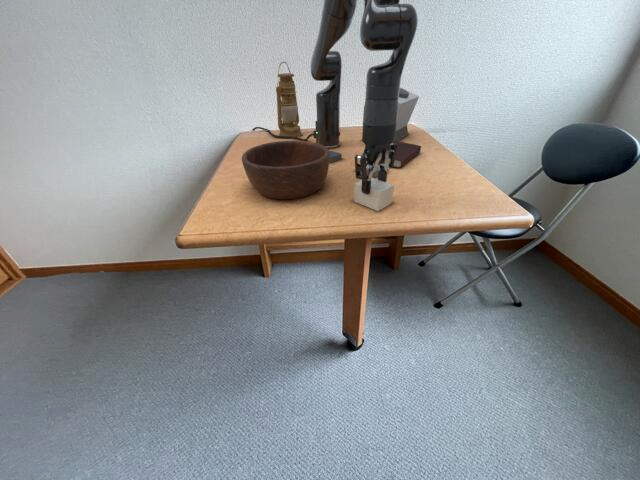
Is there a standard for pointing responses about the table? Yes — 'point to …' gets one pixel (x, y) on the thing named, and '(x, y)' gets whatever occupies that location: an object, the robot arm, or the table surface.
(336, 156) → the blue-grey flat blocks
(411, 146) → the book
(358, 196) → the white rectangular block
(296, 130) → the lantern
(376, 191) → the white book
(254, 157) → the wooden bowl
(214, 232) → the table surface
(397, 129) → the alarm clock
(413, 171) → the table surface
